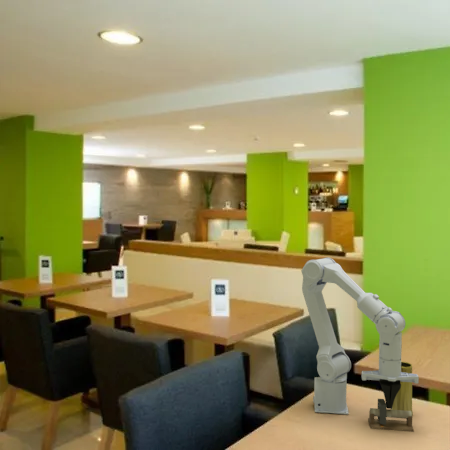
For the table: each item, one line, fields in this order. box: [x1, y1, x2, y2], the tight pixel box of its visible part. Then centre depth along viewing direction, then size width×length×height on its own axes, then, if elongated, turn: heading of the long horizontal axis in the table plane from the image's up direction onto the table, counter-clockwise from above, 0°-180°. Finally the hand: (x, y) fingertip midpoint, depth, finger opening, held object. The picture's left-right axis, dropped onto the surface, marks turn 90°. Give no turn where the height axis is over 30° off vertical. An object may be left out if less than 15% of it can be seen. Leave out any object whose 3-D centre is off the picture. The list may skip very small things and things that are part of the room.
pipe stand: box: [367, 407, 414, 432], centre depth 134 cm, size 11×5×4 cm, turn 81°
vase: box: [390, 360, 414, 416], centre depth 142 cm, size 6×6×14 cm
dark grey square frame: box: [376, 398, 388, 425], centre depth 134 cm, size 2×4×5 cm, turn 171°
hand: (388, 407), depth 134 cm, fingers closed
